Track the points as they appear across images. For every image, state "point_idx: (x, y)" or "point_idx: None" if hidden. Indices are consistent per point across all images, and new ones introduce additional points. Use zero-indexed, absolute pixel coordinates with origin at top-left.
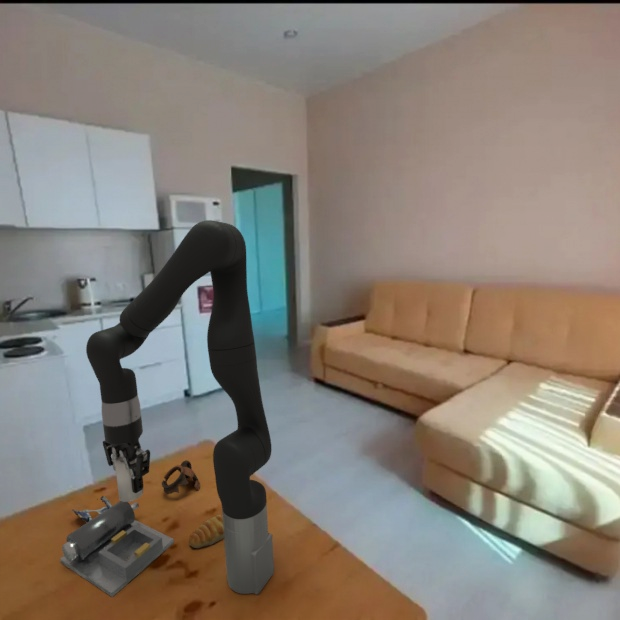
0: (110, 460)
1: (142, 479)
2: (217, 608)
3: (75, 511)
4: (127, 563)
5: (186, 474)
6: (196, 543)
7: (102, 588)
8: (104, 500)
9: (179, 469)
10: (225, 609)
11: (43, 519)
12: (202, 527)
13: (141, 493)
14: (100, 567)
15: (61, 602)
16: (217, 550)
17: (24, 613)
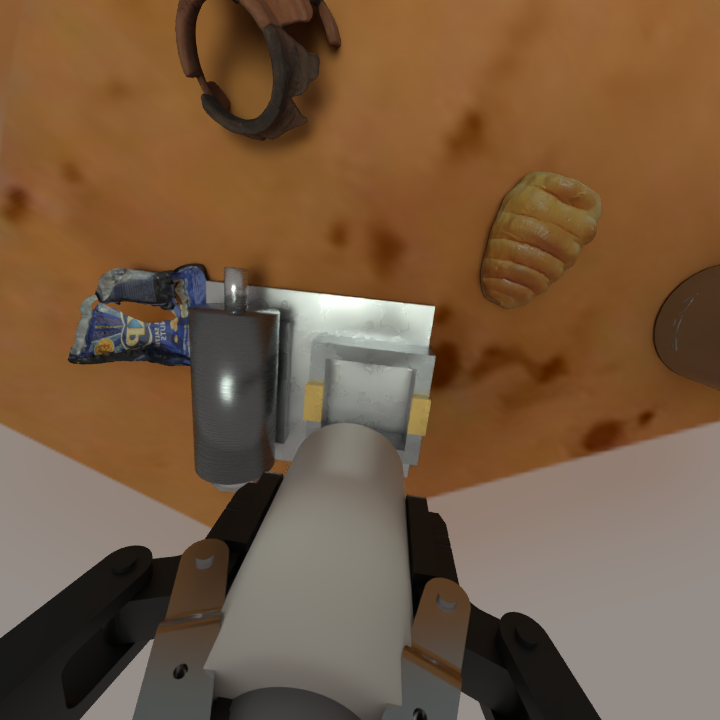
0: (122, 667)
1: (454, 565)
2: (663, 423)
3: (84, 351)
4: (410, 453)
5: (287, 21)
6: (524, 303)
7: None
8: (113, 290)
9: None
10: (684, 420)
11: (26, 366)
12: (525, 256)
13: (402, 468)
14: None
15: None
16: (581, 282)
17: None
